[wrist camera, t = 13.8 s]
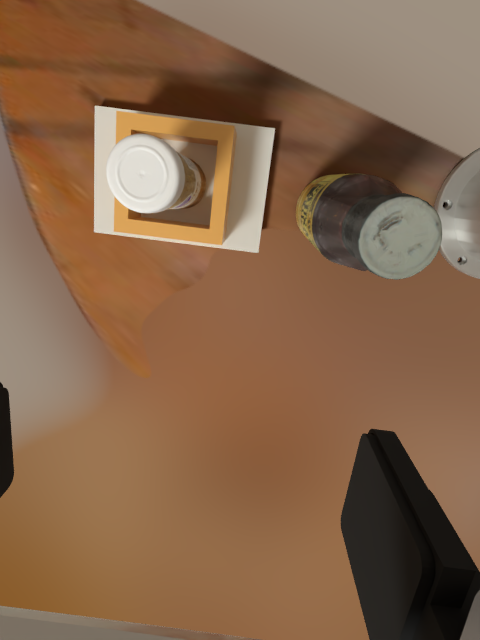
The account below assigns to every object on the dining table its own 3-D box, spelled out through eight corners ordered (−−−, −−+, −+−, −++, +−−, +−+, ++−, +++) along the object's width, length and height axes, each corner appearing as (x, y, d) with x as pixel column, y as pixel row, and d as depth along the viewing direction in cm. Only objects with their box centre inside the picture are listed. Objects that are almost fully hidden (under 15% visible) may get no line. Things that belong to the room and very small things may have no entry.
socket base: (274, 130, 35) (277, 119, 31) (258, 251, 39) (258, 259, 34) (99, 107, 35) (74, 94, 31) (98, 231, 39) (75, 236, 34)
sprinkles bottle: (186, 218, 37) (149, 229, 24) (148, 185, 36) (88, 178, 23) (217, 179, 36) (195, 169, 23) (178, 144, 35) (133, 113, 22)
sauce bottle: (292, 179, 37) (330, 161, 18) (359, 172, 36) (474, 146, 17) (295, 249, 38) (334, 301, 20) (360, 243, 38) (463, 290, 19)
